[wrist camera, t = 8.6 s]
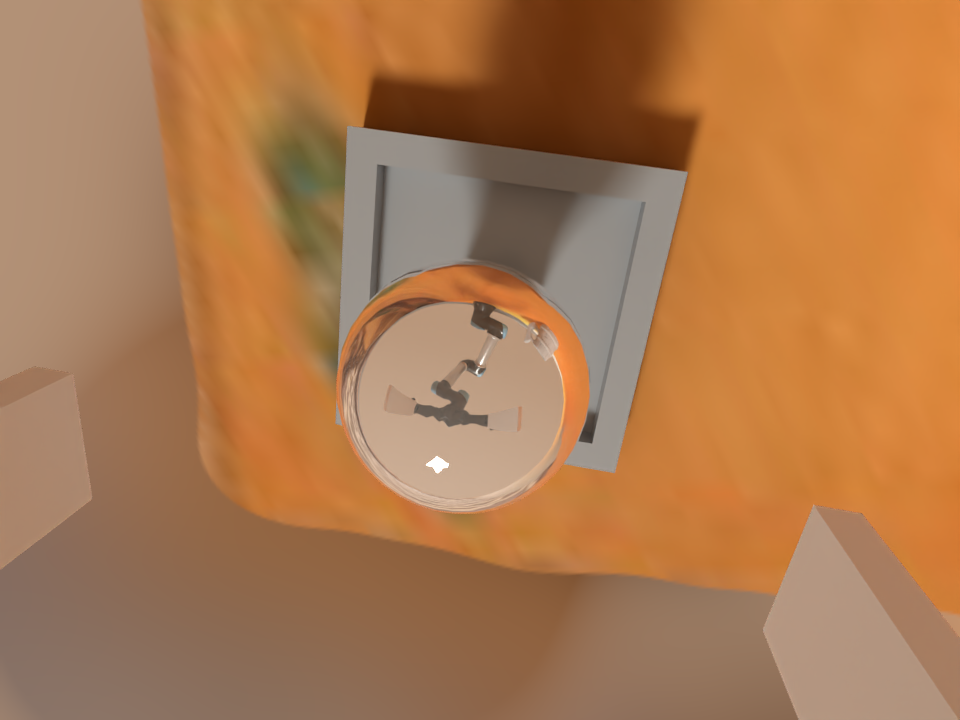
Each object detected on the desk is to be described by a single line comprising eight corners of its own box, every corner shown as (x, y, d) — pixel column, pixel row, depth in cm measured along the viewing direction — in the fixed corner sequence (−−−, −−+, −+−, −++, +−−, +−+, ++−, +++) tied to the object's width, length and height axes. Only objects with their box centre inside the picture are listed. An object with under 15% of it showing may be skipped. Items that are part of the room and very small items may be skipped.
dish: (362, 127, 23) (347, 125, 21) (678, 170, 22) (688, 172, 20) (349, 407, 27) (335, 424, 26) (611, 452, 27) (614, 473, 25)
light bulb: (519, 411, 26) (489, 619, 14) (383, 327, 25) (243, 477, 14) (614, 281, 23) (668, 413, 12) (466, 184, 22) (377, 228, 11)
